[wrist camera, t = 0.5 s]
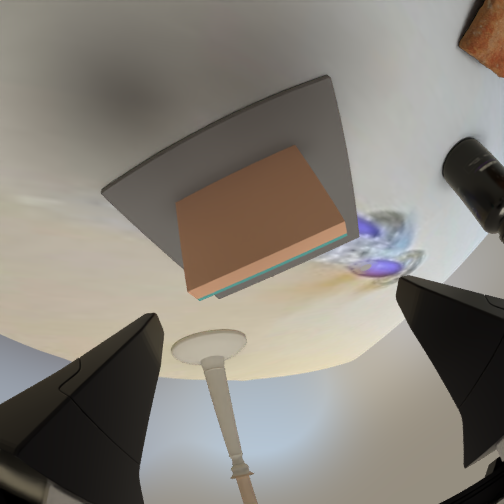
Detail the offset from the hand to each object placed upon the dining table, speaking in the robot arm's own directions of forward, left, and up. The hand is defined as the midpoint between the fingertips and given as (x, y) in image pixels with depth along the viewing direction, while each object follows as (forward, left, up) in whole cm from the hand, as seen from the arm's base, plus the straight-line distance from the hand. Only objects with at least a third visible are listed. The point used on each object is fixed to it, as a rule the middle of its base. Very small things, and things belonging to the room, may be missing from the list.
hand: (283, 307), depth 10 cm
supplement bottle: (+25, +13, -14) cm, 31 cm away
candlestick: (+20, -33, -14) cm, 41 cm away
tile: (+4, -3, -13) cm, 14 cm away
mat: (+8, -6, -14) cm, 17 cm away
